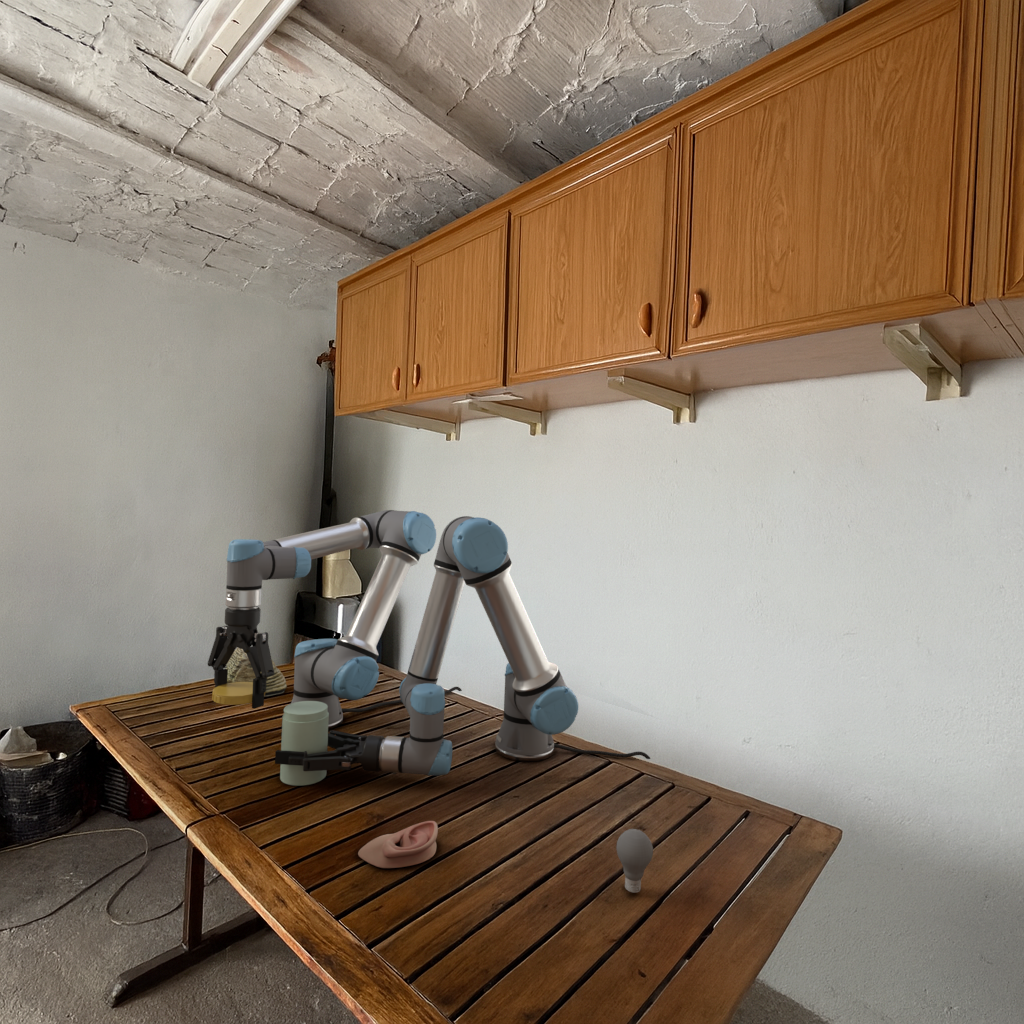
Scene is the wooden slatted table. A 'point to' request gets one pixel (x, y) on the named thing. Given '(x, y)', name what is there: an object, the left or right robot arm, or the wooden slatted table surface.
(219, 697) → the lid
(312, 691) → the left robot arm
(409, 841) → the anatomical model
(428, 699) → the right robot arm
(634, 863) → the light bulb
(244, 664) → the fossil
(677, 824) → the wooden slatted table surface
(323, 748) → the jar
